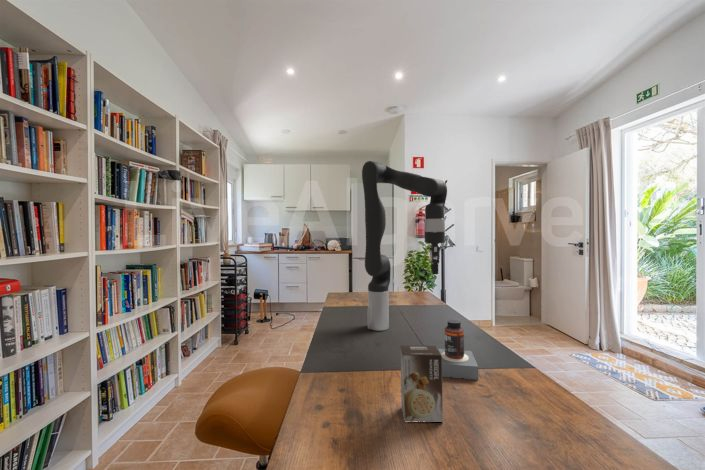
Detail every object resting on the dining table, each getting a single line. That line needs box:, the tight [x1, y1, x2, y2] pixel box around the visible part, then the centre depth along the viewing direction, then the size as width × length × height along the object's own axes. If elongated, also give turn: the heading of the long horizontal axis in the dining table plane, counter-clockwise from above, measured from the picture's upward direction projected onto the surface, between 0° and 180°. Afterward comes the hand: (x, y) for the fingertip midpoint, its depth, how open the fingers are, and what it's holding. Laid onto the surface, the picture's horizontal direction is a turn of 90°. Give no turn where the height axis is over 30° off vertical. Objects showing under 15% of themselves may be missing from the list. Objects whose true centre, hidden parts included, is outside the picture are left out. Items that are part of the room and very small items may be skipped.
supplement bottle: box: [444, 318, 465, 359], centre depth 99 cm, size 6×6×11 cm
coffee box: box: [400, 344, 444, 423], centre depth 75 cm, size 9×6×16 cm
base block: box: [437, 348, 479, 381], centre depth 99 cm, size 12×12×4 cm
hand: (434, 272), depth 120 cm, fingers open, 8 cm apart
